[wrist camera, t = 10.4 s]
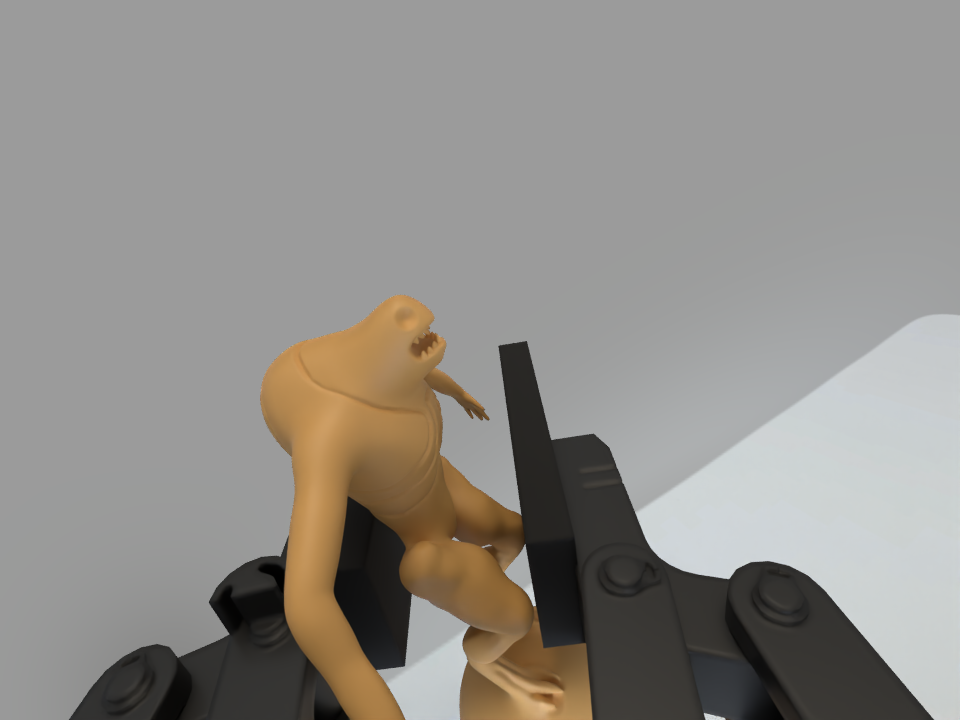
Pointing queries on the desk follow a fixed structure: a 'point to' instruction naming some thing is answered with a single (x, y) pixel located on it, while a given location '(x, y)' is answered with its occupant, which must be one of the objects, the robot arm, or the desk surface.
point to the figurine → (405, 519)
